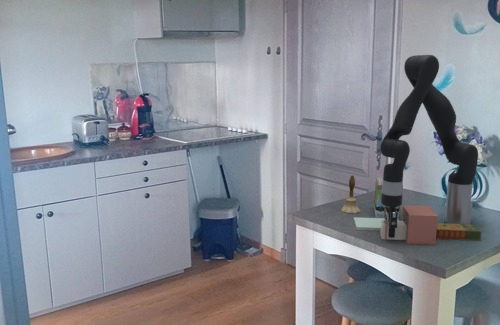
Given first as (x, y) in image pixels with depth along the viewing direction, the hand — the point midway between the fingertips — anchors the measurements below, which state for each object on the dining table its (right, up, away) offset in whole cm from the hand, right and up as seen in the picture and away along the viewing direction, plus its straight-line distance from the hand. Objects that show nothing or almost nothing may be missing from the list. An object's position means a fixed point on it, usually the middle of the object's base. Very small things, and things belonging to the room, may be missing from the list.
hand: (389, 233), depth 191 cm
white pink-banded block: (+4, -2, 0) cm, 4 cm away
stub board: (-1, +1, +13) cm, 13 cm away
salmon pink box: (+11, -2, -1) cm, 11 cm away
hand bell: (-8, +5, +33) cm, 34 cm away
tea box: (+6, +4, +28) cm, 29 cm away
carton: (+26, -2, +2) cm, 26 cm away
